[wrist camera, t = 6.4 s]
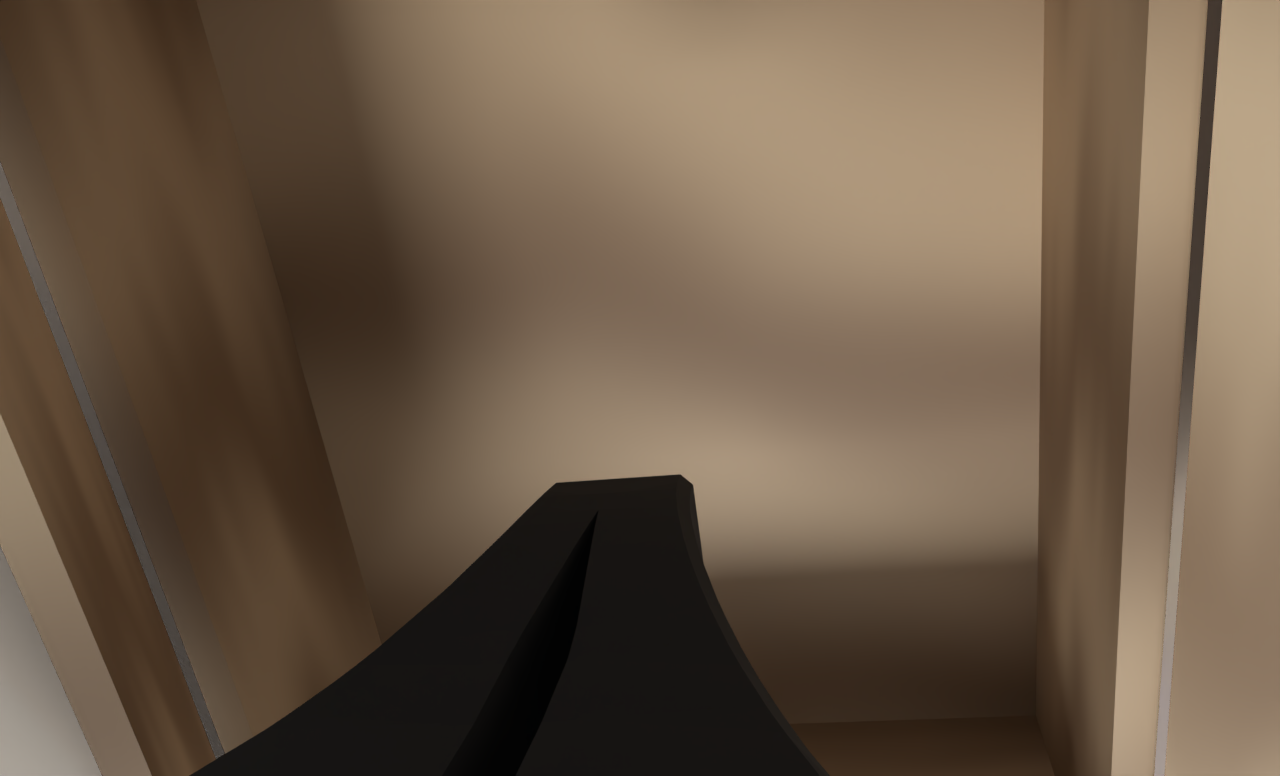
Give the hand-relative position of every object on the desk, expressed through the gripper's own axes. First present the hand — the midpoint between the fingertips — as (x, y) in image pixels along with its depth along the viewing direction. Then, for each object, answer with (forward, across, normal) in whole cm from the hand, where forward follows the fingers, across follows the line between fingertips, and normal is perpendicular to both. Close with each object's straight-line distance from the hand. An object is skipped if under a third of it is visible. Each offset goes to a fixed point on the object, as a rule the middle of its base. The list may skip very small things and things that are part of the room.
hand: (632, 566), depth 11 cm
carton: (+6, 0, 0) cm, 6 cm away
